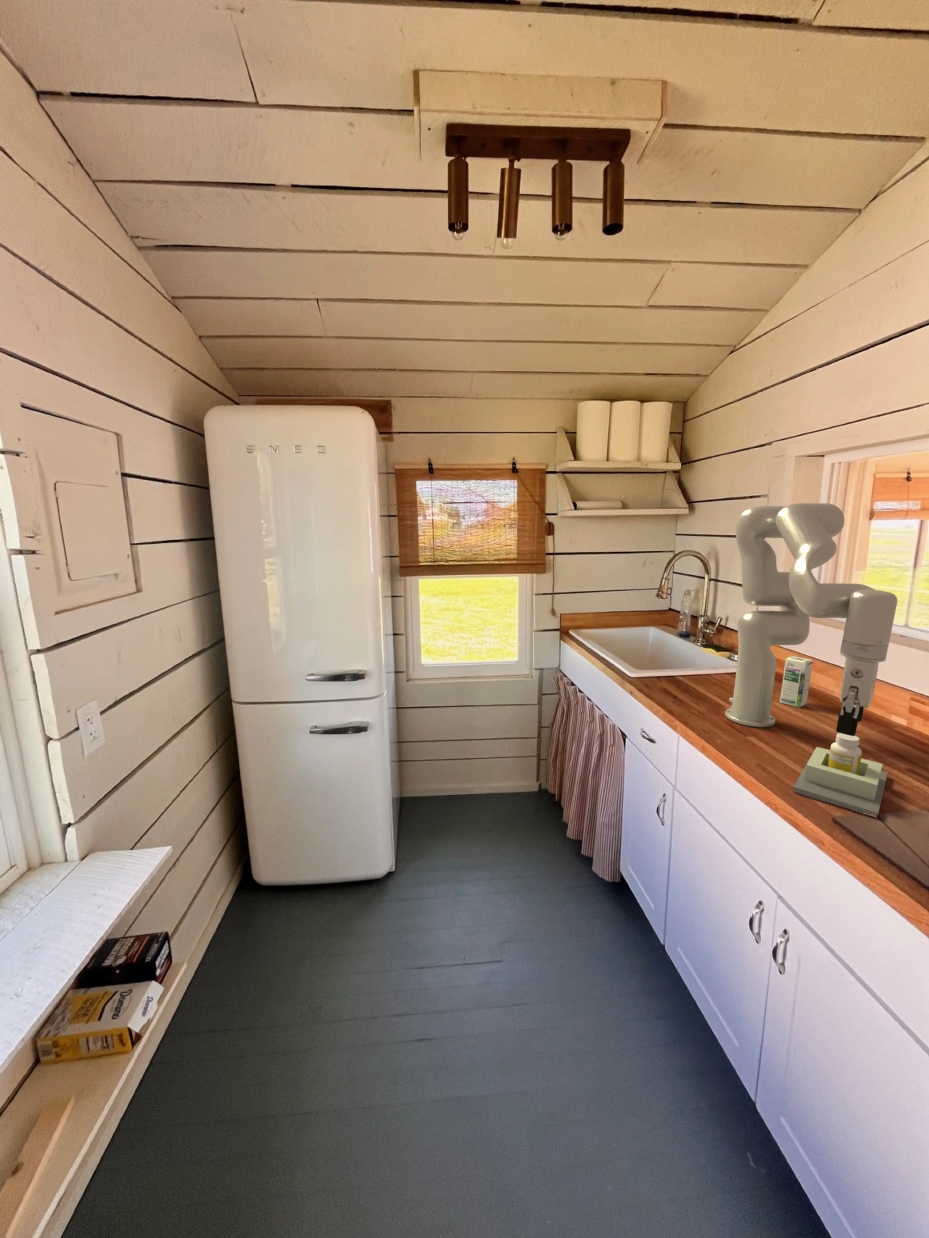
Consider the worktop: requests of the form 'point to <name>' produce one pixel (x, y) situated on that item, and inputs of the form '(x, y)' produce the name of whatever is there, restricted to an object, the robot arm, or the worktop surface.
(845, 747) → the supplement bottle
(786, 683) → the syrup box
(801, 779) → the socket board
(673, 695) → the worktop surface
